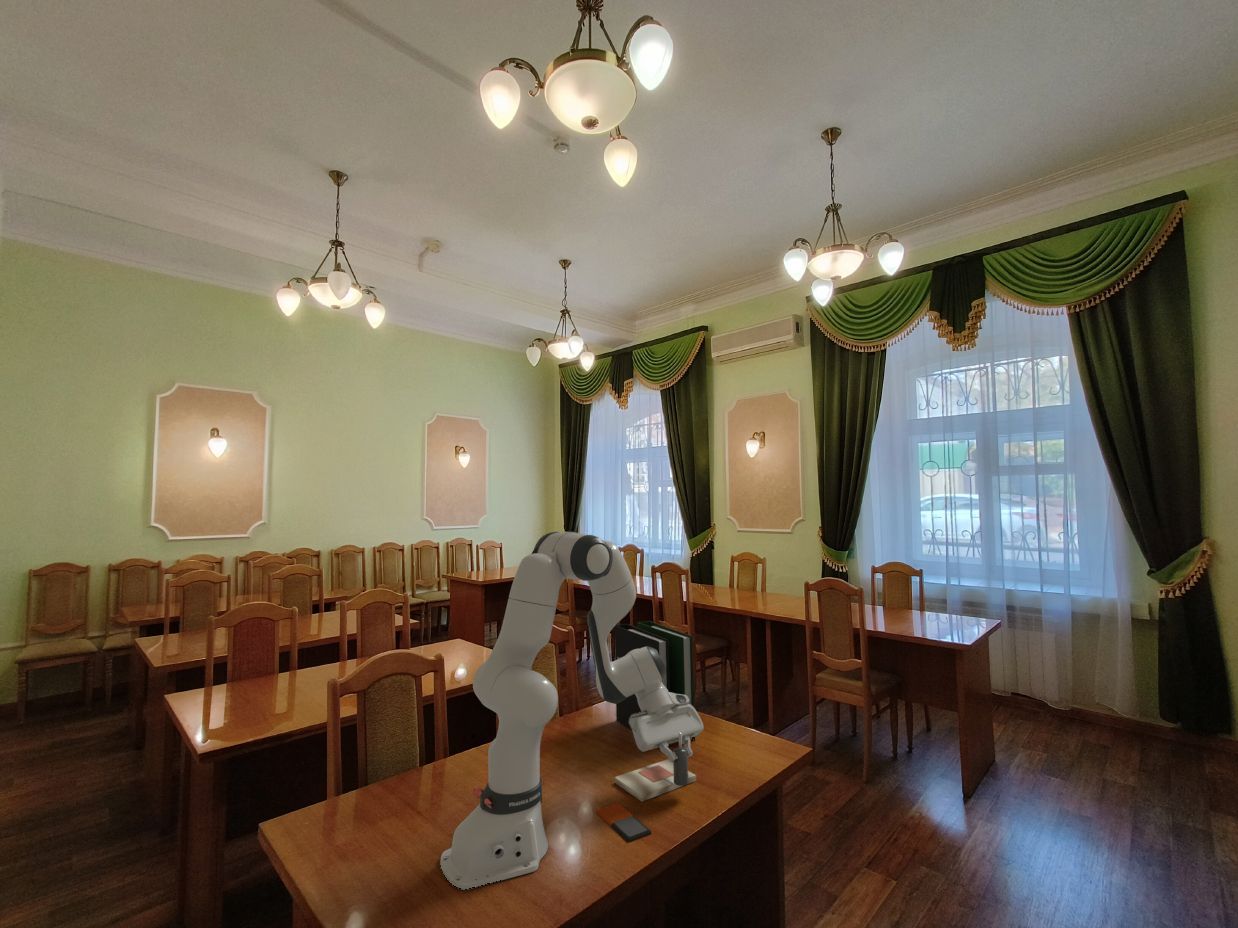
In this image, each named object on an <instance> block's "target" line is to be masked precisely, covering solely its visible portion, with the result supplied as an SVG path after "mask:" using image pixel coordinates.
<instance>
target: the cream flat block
mask: <svg viewBox="0 0 1238 928" xmlns="http://www.w3.org/2000/svg"><path fill="white" fill-rule="evenodd" d="M695 782H697V774H694V772H693V773H692V772H691V771H689V770H688V784H687V785H689V784H692V783H695ZM614 784H616V785H617V786H618V787H620V788H621V789H623V790H625V792H627V793H629V794H630V795H631V796H633V797H634V798H636V799H637V800H638V801H640V802H644V801H648V800H650V799H653V798H654V797H657V796H660V795H663V794H665V793H668V792H671V791H674V790H676V789H679V788H681V787H684V786H685V785H683V786H680V785H676V784H675V783H674V764H673V762H670V760H669V758H667V759H664V760H662V761H659V762H655V763H651V764H649V765H647V766H644V767H641V768H638V769H637V768H636V769H635V770H632V771H628V772H625V773H623V774H620V775H617V776H615V777H614Z"/></svg>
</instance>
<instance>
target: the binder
mask: <svg viewBox="0 0 1238 928" xmlns="http://www.w3.org/2000/svg"><path fill="white" fill-rule="evenodd" d="M636 625H637V626H634V625H633V624H630V623H624V624H616V625H615V626H614V647H615V648H614V652H615V653H614V655H615V657H614V658H615V660H617V659H619V658H622V657H624V656H625V655H626V654H627V653H629V652H630V651H632V650H634V649H640V648H643V647H646V646H648V647H651V648H654V649H656V650H657V651H658V654H659V656H660V658H661V660H662V661H663V663H664V665H665V667H666V673H665V676H664V678H663V680H662V683H663V685H664V686H665V687H666V688H667V690H668V692H671V693H675V694H682V695H686V696H688V698H689V703H688V704H690V705H692V706H693V707H694V708H695V685H694V683H695V681H694V680H695V678H694V677H695V674H694V648H693V647H694V644H693V642H694V641H693V635H689V634H687V633H685V632H682V631H680V630H679V631H678V630H676V629H673V628H670V627H668V626H665V625H662V624H660V623H657V622H654V621H651V620H648V621H647V620H646V621H638V622H637V624H636ZM615 660H614V661H615ZM615 708H616V710H615V711H616V713H615V715H616V720H615V721H616V722H617V723H619V724H621V725H622V726H624V727H625V728H627V729H628V730H630V731H631V732H633V731H632V728H631V726H630V724H629V718H630V716H631V715H632V714H634V713H639V712H642V711H641V709H640V707H639V705H638V701H637V697H636V695H635V694H633V695H631V696H629V697H627V698H626V699H625V700H623V701H621V702H620V703H618V704H615ZM691 738H692V739H694V740H695V741H696V736H694V737H691ZM691 738H690V739H691ZM692 739H691V740H692ZM694 740H693V741H694ZM669 747H670V748H672V743H671V744H668V748H669ZM657 748H658V749H659V747H657Z"/></svg>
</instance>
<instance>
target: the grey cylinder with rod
mask: <svg viewBox="0 0 1238 928" xmlns="http://www.w3.org/2000/svg"><path fill="white" fill-rule="evenodd" d="M672 752H676V755H677V757H678V759H677V760H676V761H674V762H673V764H674V783H675V784H676V785H680V786H682V787H684V786H686V785H689V784H688V771H689V763H688V762H689V761H688V760H689V759H688V758H689V757H688V749H687V748H685V746H683V744H682V733H679V741H678V746H675V747H673V751H672ZM683 785H684V786H683Z"/></svg>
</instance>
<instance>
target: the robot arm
mask: <svg viewBox="0 0 1238 928" xmlns="http://www.w3.org/2000/svg"><path fill="white" fill-rule="evenodd" d="M566 579H568V580H576V581H577V580H578V581H585V582H587V583H588V587H589V589H590V592H591V595H592V604H591V608H590V610H589V611H588V612H587V616H586V618H587V619H586V620H587V622H586V623H587V630H588V636H589V643H590V648H591V653H592V657H593V663H594V670H595V683H596V689H597V691H598V693H599V695H600V697H601V699H603V701H605V702H607V703H609V704H614V705H616V704H618V703H620V702H621V701H623V700H625V699H626V698H627V697H629V696H631V695H633V694H635V695H636V697H637V701H638V705H639V707H640V709H641V711H642V712H639V713H634V714H632V715H631V716H630V718H629V724H630V726H631V728H632V731H631V732H632V734H633V738H634V740H635V744H636V747H637V748H638V750H640V751H641V752H647V751H649V750H650V751H651V750H654V749H656V748H658V747H659V748H660V749H659V748H658V749H659V750H660V752H662V753H663V754H664V755H665V756H666V757H667V759H668V760H670V762H674V761H676V760H677V759H678V757H677V755H676V752H673V751H672V750H671V749H670V748H669V746H668V744H671V745H672V744H674V743H677V742H678V743H679V733H682V745H684V747H685V748H687V749H688V758H691V756H693V754H694V752H693V750H692V747H691V737H694V736H695V737H697V736H699V735H700V734H701V733H702V732H703V731H704V723H703V721H702V718H701V717H700V715H699V713H698V712H697V710H696V708H695V706H694V707H693V706H692V705H690V704H688V703H689V698H688V696H686V695H682V694H675V693H671V692H668V690H667V688H666V687H665V686H664V685H663V683H662V680H663V678H664V676H665V673H666V667H665V665H664V663H663V661H662V660H661V658H660V656H659V654H658V651H657V650H656V649H654V648H651V647H648V646H646V647H643V648H640V649H634V650H632V651H630V652H629V653H627V654H626V655H625V656H624V657H622V658H619V659H617V660H614V661H611V658H610V653H609V646H608V637H609V634H610V632H611V631H613V629H614V628H615V626H616V625H618V623H619V622H621V620H622V619H624V618H625V617H626V616H627V615H628V614H629V612H630V611H631V610H632V609H633V606H634V605H635V601H636V599H637V590H636V584H635V581H634V579H633V576H632V573H631V570H630V568H629V566H628V563H627V562H626V560H625V558H624V556H623V554H622V552H621V550H620V549H619V548H618V546H617V545H616V544H615V543H613V542H611V541H607V540H603V539H602V538H600V537H598V536H596V535H593V534H583V533H578V532H575V531H562V532H560V531H552V532H548V533H545V534H543V535H542V536H540V538H538V540H537V541H536V543H535V545H534V548H533V550H532V552H531V554H528V555H526V556H524V557H523V558H522V559H521V561H520V563H519V565H518V567H517V570H516V573H515V575H514V578H513V580H512V581H513V582H512V584H511V587H510V591H509V595H508V599H507V604H506V608H505V613H504V617H503V621H502V625H501V627H500V629H501V630H500V632H499V634H498V637H497V639H496V642H495V644H494V646H493V649H492V650H491V653H490V654H489V655H488V658H487V659H486V661H484V662H483V663H482V664H480V665H479V667H478V668H477V670H476V671H475V674H474V676H473V680H472V688H473V689H472V690H473V692H474V694H475V696H476V697H477V698H478V700H479V701H480V702H481V704H482V705H483V706H484V707H486V708H487V709H489V710H491V711H493V712H494V713H496V714H497V718H498V729H497V733H496V737H495V738H494V739H493V740H492V742H491V743H490V744H489V747H488V749H487V750H488V753H487V754H488V761H487V765H488V775H487V777H488V782H487V783H486V786H485V788H484V789H483V788H482V787H481V786H480V785H475V786H473V788H472V790H471V793H472V795H473V796H474V797H475V798H476V799H479V804H478V805H477V806H476V807H475V808H474V810H473V811H472V812H471V813H469V814H468V816H466V818H464V820H463V821H462V822H461V823H460V824H458V825H457V827H456V828H455V830H454V833H453V837H452V841H451V842H452V843H451V847H450V848H447V849H445V850H444V851H443V852H442V854H441V856H440V861H439V865H441V867H440V870H441V869H442V871H443V873H444V875H445V877H446V878H447V880H449V882H450V883H452V885H451V886H453V885H454V886H456V887H458V888H457V889H459V888H461V889H460V890H461V891H466V890H465V889H467V890H470V889H469V888H471V889H473V888H472V887H475V888H478V886H479V887H482V886H481V885H483V886H485V884H486V885H488V884H487V883H490V884H493V882H494V883H496V881H497V882H500V880H501V881H504V880H509V879H511V878H516V877H518V876H519V877H520V876H522V875H527V874H530V873H533V872H536V871H537V870H538V868H539V865H540V861H541V860H542V858H543V857H545V855H546V854H547V851H548V850H549V849H548V848H549V842H548V838H547V836H546V832H545V827H544V821H543V813H542V802H543V781H542V777H541V774H540V773H541V771H540V769H541V768H540V767H541V766H540V765H541V764H540V763H541V760H540V759H541V757H540V756H541V755H540V754H541V742H542V738H543V737H542V736H543V732H544V728H545V726H546V725H547V724H548V723H550V722H551V720H552V718H553V717H554V716H555V713H556V711H557V708H558V704H559V694H558V690H557V688H556V687H555V685H554V684H553V683H552V682H551V681H550V680H549V679H548V678H547V677H545V676H544V675H543V674H542V673H540V672H538V671H535V670H532V666H533V664H534V662H535V659H536V657H537V655H538V654H539V652H540V651H541V649H543V648H544V647H545V646H546V645H547V644H548V643H549V642H550V639H551V636H552V630H553V625H554V620H555V616H556V610H557V606H558V605H557V604H558V600H559V594H560V593H559V592H560V588H561V586H562V584H563V583H564V581H565V580H566ZM442 871H441V872H442ZM443 873H442V874H443ZM444 875H443V876H444ZM445 877H444V878H445ZM446 878H445V879H446ZM449 882H448V883H449ZM450 883H449V884H450ZM454 886H453V887H454ZM456 887H455V888H456Z"/></svg>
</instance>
